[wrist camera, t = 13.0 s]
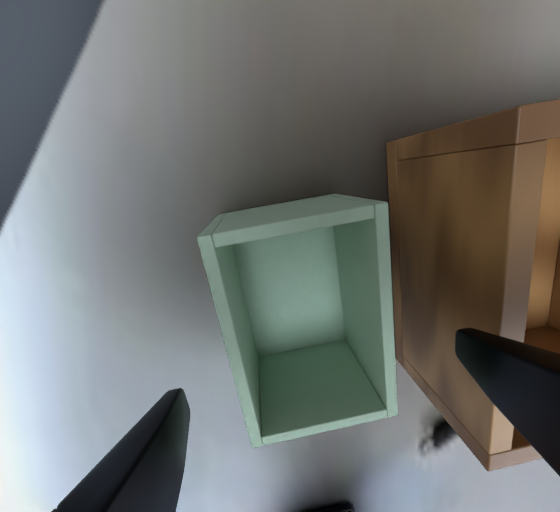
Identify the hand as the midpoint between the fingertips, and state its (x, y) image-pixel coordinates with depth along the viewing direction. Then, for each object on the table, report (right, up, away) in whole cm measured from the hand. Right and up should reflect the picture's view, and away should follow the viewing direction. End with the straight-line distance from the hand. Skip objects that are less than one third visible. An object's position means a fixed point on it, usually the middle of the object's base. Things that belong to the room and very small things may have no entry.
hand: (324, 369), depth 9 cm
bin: (-1, +2, +7) cm, 8 cm away
